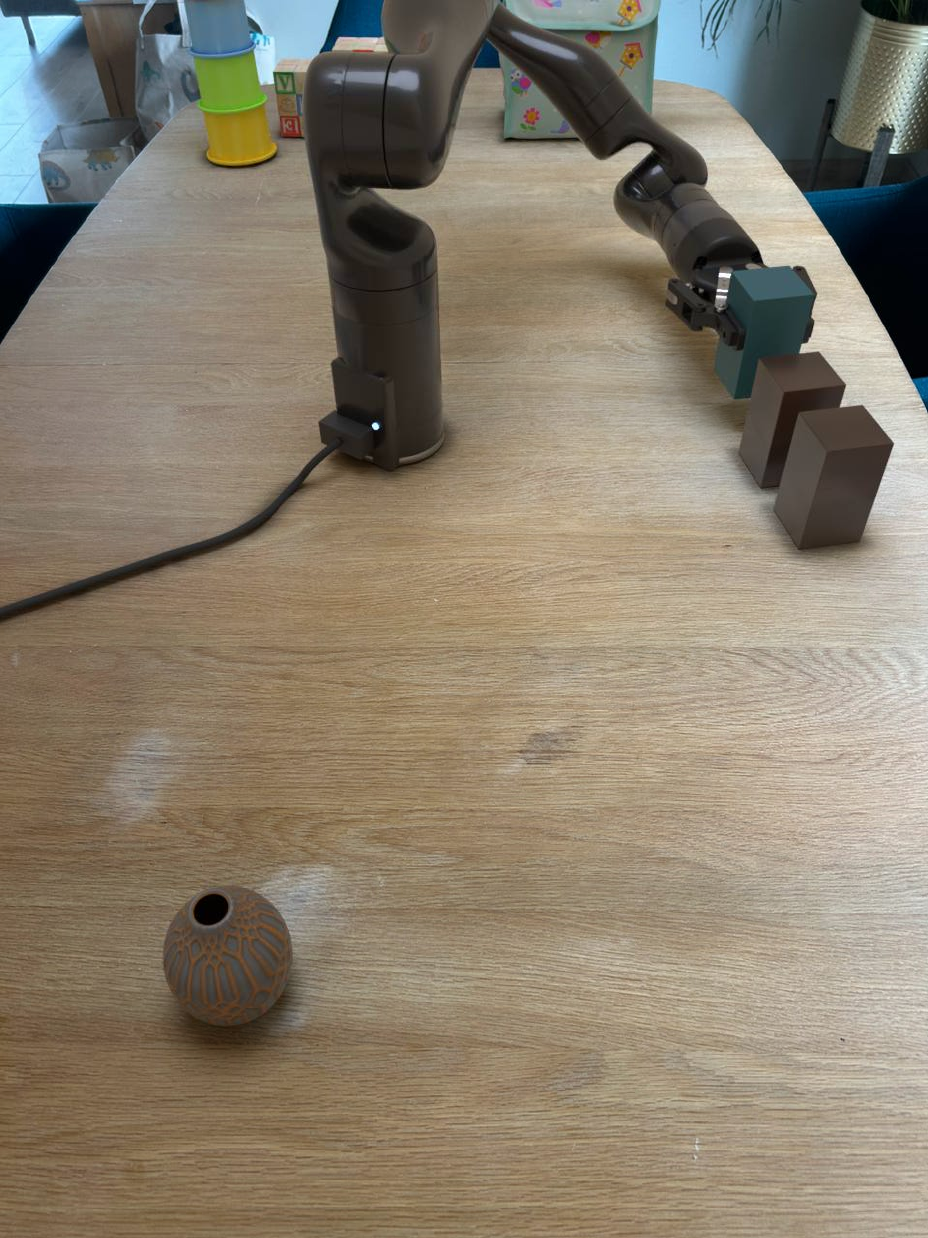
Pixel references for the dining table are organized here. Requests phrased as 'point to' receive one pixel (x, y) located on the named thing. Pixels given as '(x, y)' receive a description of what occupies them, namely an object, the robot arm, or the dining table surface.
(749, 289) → the teal block
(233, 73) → the stacking cups
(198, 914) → the vase
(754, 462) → the walnut block middle
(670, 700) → the dining table surface
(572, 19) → the lunch bag
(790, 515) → the walnut block front
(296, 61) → the stack of blocks
